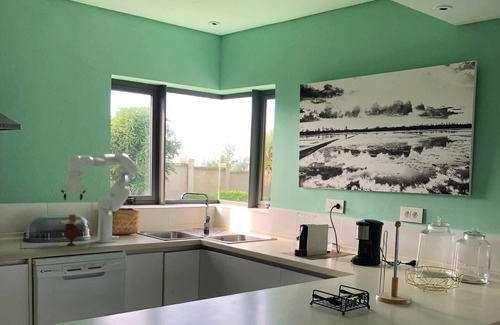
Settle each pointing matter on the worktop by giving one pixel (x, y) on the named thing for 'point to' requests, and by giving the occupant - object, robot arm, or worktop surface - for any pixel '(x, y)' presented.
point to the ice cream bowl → (71, 233)
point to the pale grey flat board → (38, 245)
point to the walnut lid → (72, 220)
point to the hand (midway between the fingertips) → (72, 200)
